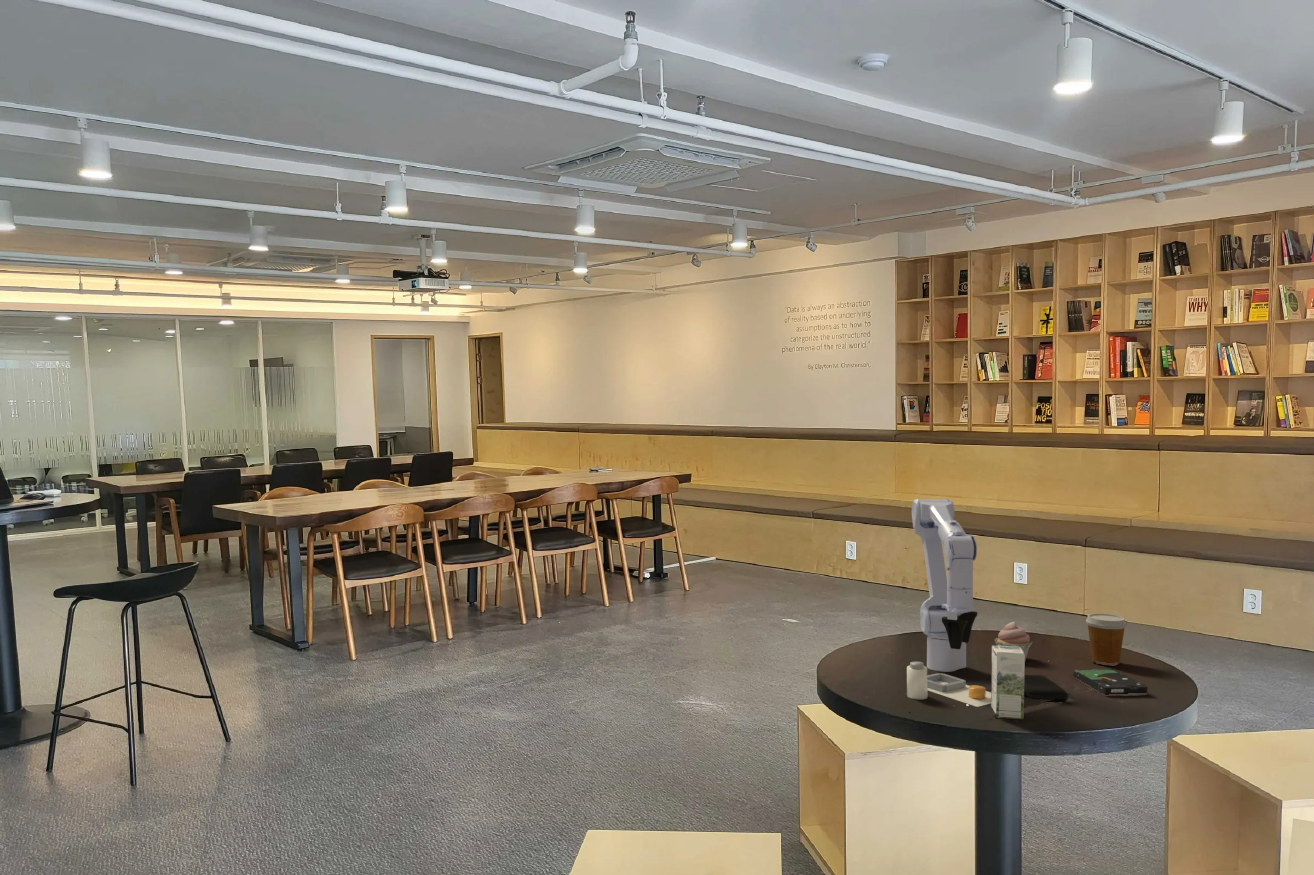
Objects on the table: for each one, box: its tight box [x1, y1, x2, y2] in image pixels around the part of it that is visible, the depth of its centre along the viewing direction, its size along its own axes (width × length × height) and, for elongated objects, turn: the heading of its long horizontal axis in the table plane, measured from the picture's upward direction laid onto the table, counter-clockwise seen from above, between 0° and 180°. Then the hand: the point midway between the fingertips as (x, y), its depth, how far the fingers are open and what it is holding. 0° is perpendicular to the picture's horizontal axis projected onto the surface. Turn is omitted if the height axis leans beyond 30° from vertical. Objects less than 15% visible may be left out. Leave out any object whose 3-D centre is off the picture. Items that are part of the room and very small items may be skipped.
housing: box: [927, 672, 991, 708], centre depth 211 cm, size 11×20×2 cm, turn 32°
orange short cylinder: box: [969, 684, 987, 699], centre depth 207 cm, size 4×4×2 cm
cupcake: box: [994, 621, 1034, 661], centre depth 242 cm, size 9×9×10 cm
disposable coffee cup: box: [1085, 613, 1127, 663], centre depth 238 cm, size 10×10×12 cm
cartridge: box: [906, 661, 928, 700], centre depth 207 cm, size 4×4×8 cm
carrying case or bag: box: [1024, 674, 1069, 703], centre depth 213 cm, size 11×3×15 cm
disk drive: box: [1072, 668, 1149, 695], centre depth 218 cm, size 10×3×15 cm
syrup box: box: [990, 644, 1026, 720], centre depth 197 cm, size 6×6×14 cm
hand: (959, 645), depth 215 cm, fingers open, 7 cm apart
